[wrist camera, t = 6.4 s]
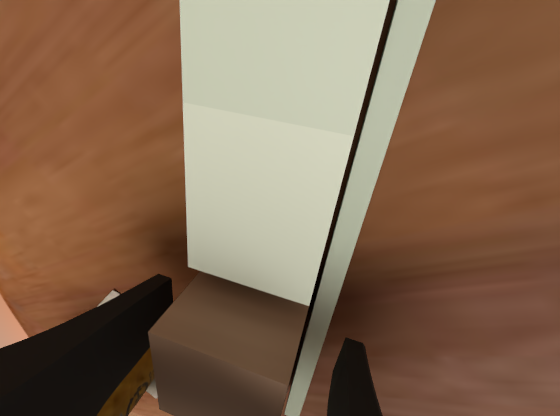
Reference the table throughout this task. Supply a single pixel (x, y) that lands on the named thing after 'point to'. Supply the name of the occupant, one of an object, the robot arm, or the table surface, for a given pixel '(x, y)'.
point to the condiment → (130, 384)
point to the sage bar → (288, 140)
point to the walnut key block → (225, 350)
